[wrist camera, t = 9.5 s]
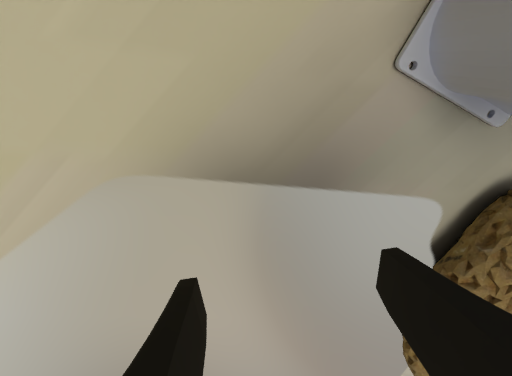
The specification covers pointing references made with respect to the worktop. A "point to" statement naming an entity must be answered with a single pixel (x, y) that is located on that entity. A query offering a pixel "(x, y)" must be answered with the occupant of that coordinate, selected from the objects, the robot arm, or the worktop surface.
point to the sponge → (479, 263)
